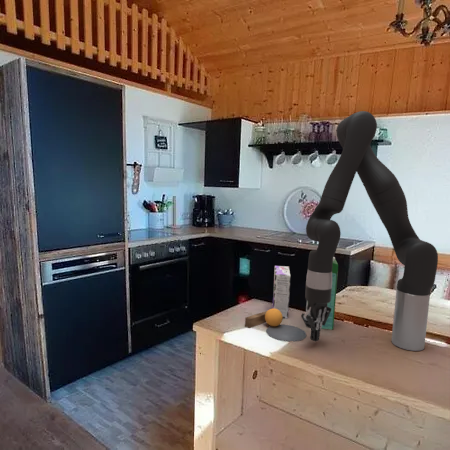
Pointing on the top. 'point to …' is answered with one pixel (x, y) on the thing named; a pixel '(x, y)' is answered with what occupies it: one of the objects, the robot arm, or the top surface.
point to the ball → (273, 317)
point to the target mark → (286, 333)
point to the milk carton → (331, 304)
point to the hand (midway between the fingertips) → (314, 340)
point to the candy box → (281, 289)
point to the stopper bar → (255, 320)
